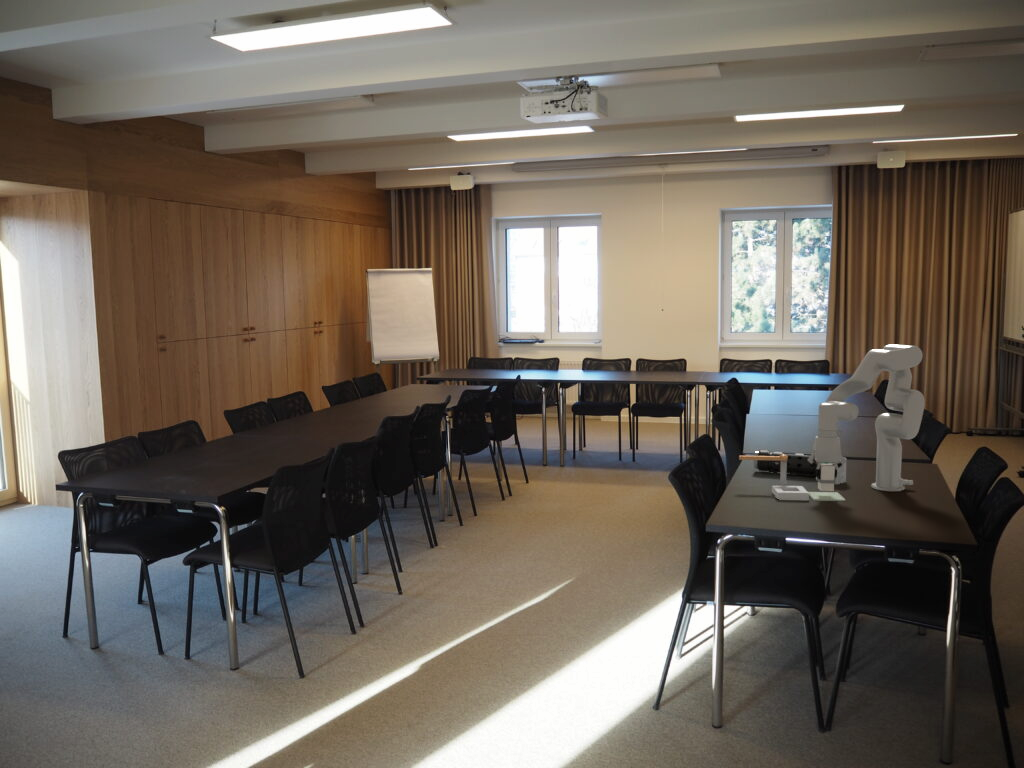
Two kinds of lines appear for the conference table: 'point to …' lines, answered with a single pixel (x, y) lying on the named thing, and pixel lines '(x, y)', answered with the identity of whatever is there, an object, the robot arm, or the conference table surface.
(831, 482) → the plug
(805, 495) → the socket block
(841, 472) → the light bulb box
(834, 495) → the mat
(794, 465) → the muzzle brake
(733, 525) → the conference table surface
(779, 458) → the wooden bar
